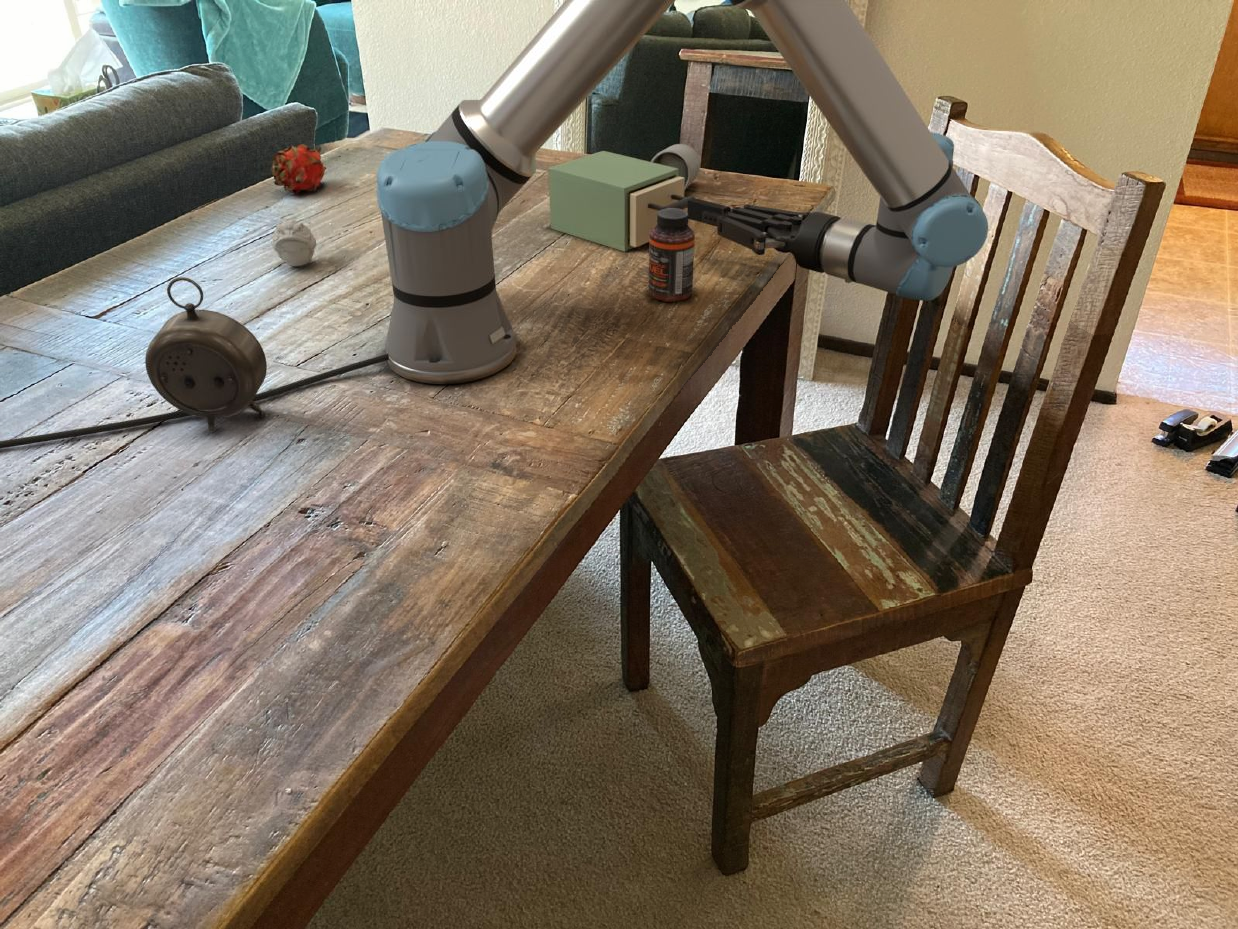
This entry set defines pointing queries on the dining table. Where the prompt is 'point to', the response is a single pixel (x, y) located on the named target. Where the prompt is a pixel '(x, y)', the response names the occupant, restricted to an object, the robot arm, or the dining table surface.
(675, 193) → the drawer
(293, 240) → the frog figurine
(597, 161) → the cabinet
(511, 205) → the dining table surface
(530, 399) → the dining table surface
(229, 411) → the alarm clock
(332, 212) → the dining table surface
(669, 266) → the supplement bottle
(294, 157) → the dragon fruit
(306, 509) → the dining table surface
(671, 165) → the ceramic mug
